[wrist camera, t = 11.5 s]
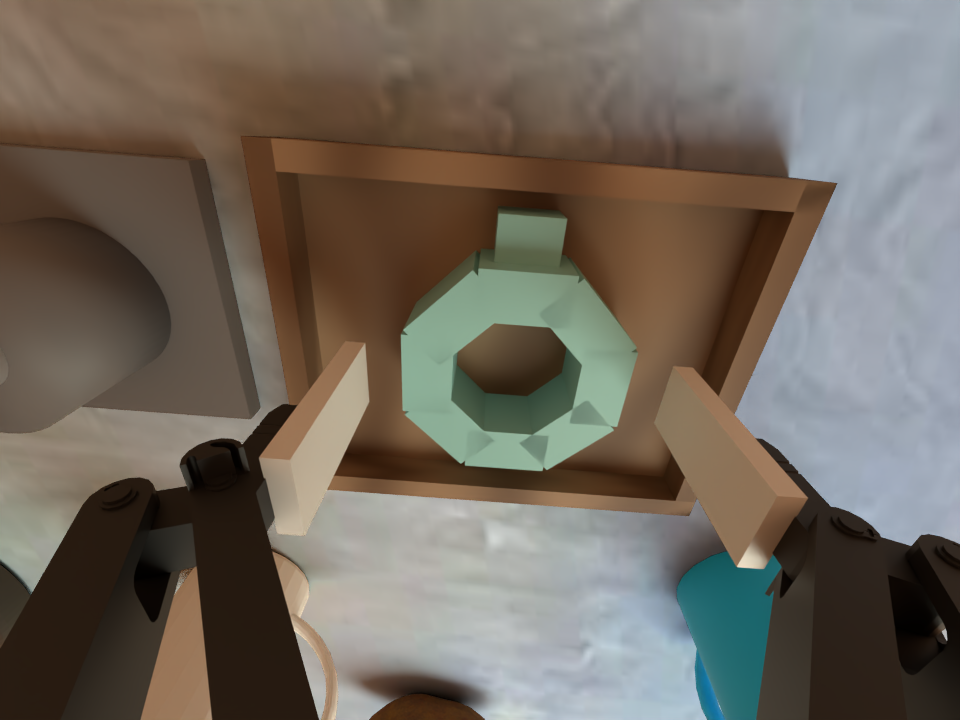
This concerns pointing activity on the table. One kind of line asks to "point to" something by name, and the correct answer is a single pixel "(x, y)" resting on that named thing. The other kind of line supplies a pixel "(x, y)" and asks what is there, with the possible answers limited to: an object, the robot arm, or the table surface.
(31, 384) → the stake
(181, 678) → the mug
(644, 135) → the table surface
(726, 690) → the mug
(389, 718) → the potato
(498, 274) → the ring
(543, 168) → the tray
